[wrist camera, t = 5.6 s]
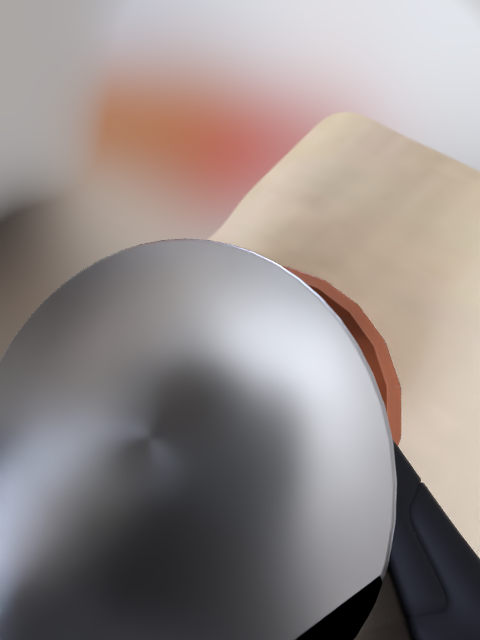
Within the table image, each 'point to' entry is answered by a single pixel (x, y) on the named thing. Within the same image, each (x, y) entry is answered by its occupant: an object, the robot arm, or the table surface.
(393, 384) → the pot
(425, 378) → the table surface
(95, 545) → the can
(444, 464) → the table surface
